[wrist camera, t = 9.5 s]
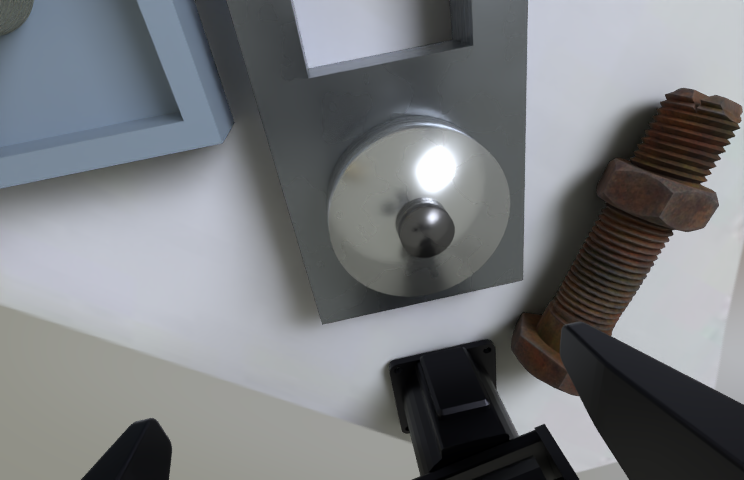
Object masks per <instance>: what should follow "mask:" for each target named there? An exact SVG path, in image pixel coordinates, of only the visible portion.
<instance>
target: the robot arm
mask: <svg viewBox="0 0 744 480" xmlns="http://www.w3.org/2000/svg"><path fill="white" fill-rule="evenodd" d="M486 347H487V348H486ZM485 348H486V349H485ZM560 357H561V360H562V362H563V365H564V367H565V369H566V370H567V372H568V374H569V376H570V378H571V380H572V382H573V384H574V386H575V388H576V390H577V392H578V394H579V396H580V398H581V400H582V402H583V404H584V406H585V408H586V410H587V412H588V414H589V416H590V418H591V419H592V421H593V423H594V425H595V427H596V428H597V430H598V432H599V433H600V435H601V437H602V438H603V440H604V441H605V443H606V444H607V446H608V447H609V449H610V450H611V452H612V454H613V455H614V457H615V458H616V460H617V461H618V463H619V464H620V466H621V467H622V469H623V470H624V472H625V474H626V475H627V477H628V478H629V480H744V405H743V404H741V403H739V402H737V401H735V400H733V399H731V398H730V397H728V396H726V395H723V394H722V393H720V392H718V391H716V390H714V389H712V388H710V387H708V386H706V385H704V384H702V383H701V382H699V381H697V380H695V379H693V378H691V377H689V376H687V375H685V374H683V373H681V372H679V371H677V370H675V369H673V368H671V367H670V366H668V365H666V364H664V363H662V362H660V361H658V360H656V359H654V358H652V357H650V356H648V355H646V354H644V353H642V352H640V351H639V350H637V349H635V348H633V347H631V346H629V345H627V344H625V343H623V342H621V341H619V340H617V339H615V338H613V337H611V336H609V335H608V334H606V333H604V332H602V331H600V330H598V329H596V328H594V327H592V326H590V325H588V324H586V323H584V322H575V323H570V324H566V325H564V326H563V327H562V330H561V341H560ZM397 367H400V368H398V369H395V368H397ZM389 371H390V376H391V381H392V386H393V391H394V396H395V400H396V405H397V410H398V415H399V420H400V425H401V429H402V432H404V433H410V435H411V439H412V443H413V447H414V451H415V455H416V460H417V463H418V468H419V472H420V477H417V478H415V479H412V480H579V478H578V477H577V475H576V473H575V472H574V470H573V469H572V467H571V465H570V464H569V462H568V461H567V459H566V457H565V456H564V454H563V453H562V451H561V449H560V448H559V446H558V445H557V443H556V441H555V440H554V438H553V437H552V435H551V433H550V432H549V430H548V429H547V427H546V425H545V424H543V425H540V426H538V427H535V430H533V431H531V432H528V433H526V434H524V435H521V436H519V435H518V433H517V431H516V429H515V427H514V425H513V423H512V421H511V419H510V417H509V415H508V413H507V411H506V409H505V407H504V405H503V403H502V401H501V399H500V396H499V394H498V392H497V390H496V353H495V346H494V344H493V342H492V341H491V340H488V339H487V340H481V341H476V342H472V343H468V344H463V345H459V346H454V347H450V348H445V349H441V350H437V351H432V352H428V353H423V354H419V355H414V356H410V357H405V358H401V359H397V360H394V361H392V362H391V363H390V364H389ZM171 455H172V446H171V442H170V440H169V438H168V436H167V435H166V433H165V432H164V430H163V429H162V427H161V426H160V424H159V423H158V421H157V420H156V419H154V418H149V419H145V420H141V421H136V422H134V423H133V424H131V425H130V426H129V427H128V428H127V430H126V431H125V432H124V433H123V434H122V435H121V436H120V437H119V438H118V439H117V441H116V442H115V443H114V444H113V445H112V446H111V447H110V448H109V449H108V450H107V452H106V453H105V454H104V455H103V456H102V457H101V458H100V459H99V460H98V462H97V463H96V464H95V465H94V466H93V467H92V468H91V469H90V470H89V472H88V473H87V474H86V475H85V476H84V477H83V478H82V479H81V480H169V473H170V465H171Z"/></svg>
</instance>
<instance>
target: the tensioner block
mask: <svg viewBox="0 0 744 480" xmlns="http://www.w3.org/2000/svg"><path fill="white" fill-rule="evenodd" d="M226 1H227V5H228V8H229V11H230V15H231V18H232V22H233V25H234V28H235V32H236V35H237V38H238V42H239V45H240V49H241V52H242V55H243V59H244V62H245V65H246V69H247V72H248V76H249V79H250V82H251V86H252V89H253V92H254V96H255V99H256V103H257V106H258V109H259V113H260V116H261V119H262V123H263V126H264V130H265V133H266V136H267V140H268V143H269V146H270V150H271V153H272V157H273V160H274V163H275V167H276V170H277V173H278V177H279V180H280V184H281V187H282V190H283V194H284V197H285V200H286V204H287V207H288V211H289V214H290V217H291V221H292V224H293V227H294V231H295V234H296V238H297V241H298V244H299V248H300V251H301V254H302V258H303V261H304V265H305V268H306V271H307V275H308V278H309V281H310V285H311V288H312V292H313V295H314V298H315V302H316V305H317V308H318V312H319V315H320V319H321V322H322V325H323V324H327V323H332V322H336V321H341V320H345V319H350V318H354V317H359V316H363V315H368V314H372V313H377V312H381V311H386V310H390V309H395V308H400V307H404V306H409V305H413V304H418V303H422V302H427V301H431V300H436V299H440V298H445V297H449V296H454V295H458V294H463V293H467V292H472V291H476V290H481V289H485V288H490V287H495V286H499V285H504V284H508V283H513V282H517V281H522V280H523V247H524V190H525V133H526V76H527V19H528V0H450V10H451V25H452V40H450V41H445V42H440V43H435V44H430V45H425V46H420V47H415V48H410V49H405V50H400V51H395V52H390V53H385V54H380V55H375V56H370V57H365V58H360V59H355V60H349V61H344V62H339V63H334V64H329V65H324V66H319V67H314V68H309V69H308V66H307V61H306V57H305V53H304V48H303V44H302V39H301V35H300V31H299V26H298V22H297V17H296V13H295V9H294V4H293V0H226Z"/></svg>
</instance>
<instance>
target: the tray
mask: <svg viewBox="0 0 744 480" xmlns="http://www.w3.org/2000/svg"><path fill="white" fill-rule="evenodd" d="M233 124H234V120H233V117H232V114H231V111H230V108H229V105H228V101H227V98H226V95H225V92H224V89H223V86H222V83H221V80H220V77H219V74H218V71H217V68H216V65H215V62H214V59H213V56H212V53H211V50H210V47H209V44H208V41H207V38H206V35H205V32H204V29H203V26H202V23H201V20H200V17H199V14H198V10H197V7H196V4H195V1H194V0H34V3H33V7H32V10H31V12H30V15H29V16H28V18H27V19H26V21H25V22H24V23H23V24H22V25H21V26H20V27H19V28H17V29H16V30H15V31H13V32H10V33H8V34H5V35H1V36H0V188H5V187H10V186H15V185H20V184H25V183H30V182H35V181H40V180H45V179H50V178H54V177H59V176H64V175H69V174H74V173H79V172H84V171H89V170H94V169H99V168H104V167H108V166H113V165H118V164H123V163H128V162H133V161H138V160H143V159H148V158H153V157H158V156H163V155H167V154H172V153H177V152H182V151H187V150H192V149H197V148H202V147H207V146H212V145H217V144H222V143H223V142H224V140H225V138H226V136H227V135H228V133H229V131H230V130H231V128H232V126H233Z"/></svg>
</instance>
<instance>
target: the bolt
mask: <svg viewBox="0 0 744 480" xmlns="http://www.w3.org/2000/svg"><path fill="white" fill-rule="evenodd" d="M665 97H666V99H667V100H665V101H662V102H660V104H661V106H662V107H661V108H657V109H656V110H657V112H658V115H654V116H652V117H653V119H654V121H655V122H651V123H649V126H650V129H648V130H645V133H646V136H645V137H641V140H642V142H643V143H641V144H637V146H638V149H639V150H636V151H633V153H634V155H635V157H632V158H629V159H630V160H626V159H622V158H615V159H613V160H611V161H610V162H609V163H608V165H607V167H606V169H605V171H604V173H603V175H602V176H601V178H600V180H599V182H598V184H597V195H598V197H600V198H601V199H602V200H604V201H605V202H607V203H605V205H606V207H607V208H604V209H601V210H602V212H603V214H601V215H598V217H599V219H600V220H597V221H595V224H596V225H597V226H593V227H592V230H593V231H592V232H589V237H587V238H586V243H584V244H583V245H582V246H583V248H582V249H580V250H579V252H580V254H578V255H577V257H576V259H575V260H574V263H573V264H574V265H572V266H571V269H570V270H569V271H568V275H567V276H566V277H565V280H564V281H563V282H562V285H561V286H560V288H559V291H557V293H556V296H555V297H554V298H553V300H552V301H550V302H549V304H548V306H547V308H546V309H545V311H544V313H543V315H538V314H532V313H525V312H523V313H522V315H521V316H520V318H519V320H518V322H517V324H516V326H515V328H514V332H513V336H512V341H511V349H512V351H513V353H514V354H515V356H516V357H517V359H518V360H519V362H520V363H521V364H522V365H523V367H524V368H525V369H526V370H527V371H528V372H529V373H531V374H532V375H533V376H534V377H536V378H537V379H539V380H541V381H543V382H545V383H546V384H548V385H550V386H552V387H554V388H556V389H559V390H561V391H563V392H566V393H568V394H571V395H574V396H579V394H578V392H577V390H576V388H575V386H574V384H573V382H572V380H571V378H570V376H569V374H568V372H567V370H566V369H565V367H564V365H563V362H562V360H561V357H560V341H561V330H562V327H563V326H564V325H566V324H570V323H575V322H584V323H586V324H588V325H590V326H592V327H594V328H596V329H598V330H600V331H602V332H604V333H606V334H608V335H609V336H611V335H612V331H613V328H614V327H615V324H616V323H617V321H618V320H619V317H620V316H621V315H622V312H624V310H625V309H626V307H627V306H628V304H629V302H631V300H632V297H633V296H634V295H635V294H636V291H637V290H639V288H640V286H639V285H642V283H643V279H645V278H646V277H647V275H646V274H647V273H649V272H650V268H651V267H652V266H654V263H653V261H655V260H657V259H658V258H657V256H656V255H658V254H660V253H661V250H660V249H662V248H664V247H665V244H664V243H665V242H669V238H668V236H672V235H673V232H672V230H680V231H684V232H690V231H694V230H698V229H702V228H704V227H705V226H706V224H707V223H708V221H709V220H710V218H711V217H712V215H713V214H714V212H715V211H716V209H717V208H718V206H719V203H718V198H717V195H716V192H714V191H713V190H711V189H709V188H707V187H704V186H702V185H701V184H700V183H702V182H706V181H707V179H706V178H705V176H707V175H710V174H712V173H711V172H710V170H709V169H711V168H714V167H716V165H715V164H714V162H715V161H718V160H720V159H721V158H720V157H719V155H718V154H721V153H723V152H726V151H725V150H724V148H723V146H726V145H729V144H730V142H729V141H728V140H727V139H729V138H732V137H735V135H734V133H733V132H732V131H735V130H737V129H740V127H739V126H738V124H737V123H740V122H741V117H740V115H741V114H742V112H743V111H742V106H741V105H739V104H737V103H735V102H733V101H731V100H729V99H727V98H724V97H721V96H717V95H714V96H710V97H709V96H707V95H704V94H702V93H700V92H698V91H696V90H692V89H687V88H680V89H678V90H676V91H674V92H672V93H669V94H665Z"/></svg>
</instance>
